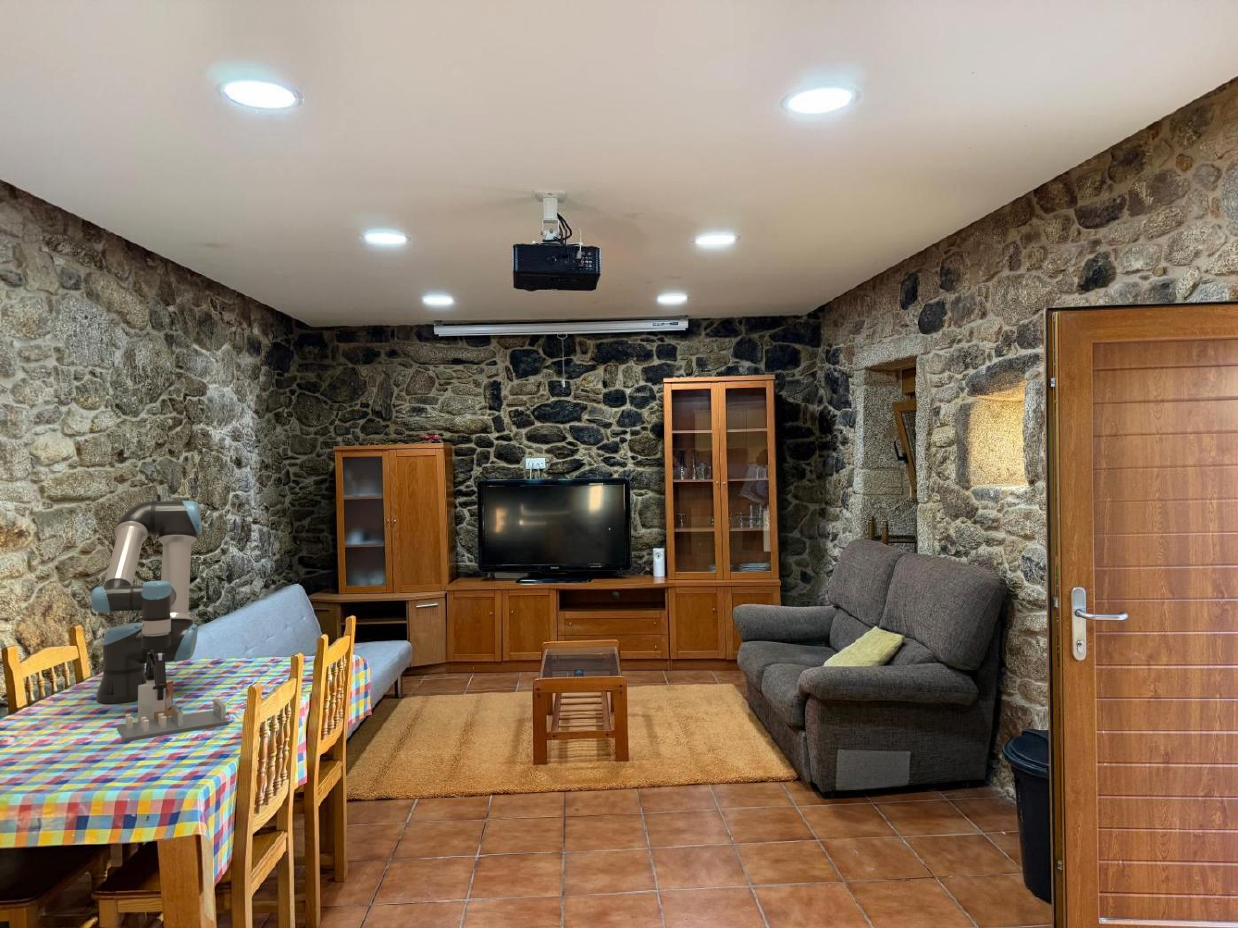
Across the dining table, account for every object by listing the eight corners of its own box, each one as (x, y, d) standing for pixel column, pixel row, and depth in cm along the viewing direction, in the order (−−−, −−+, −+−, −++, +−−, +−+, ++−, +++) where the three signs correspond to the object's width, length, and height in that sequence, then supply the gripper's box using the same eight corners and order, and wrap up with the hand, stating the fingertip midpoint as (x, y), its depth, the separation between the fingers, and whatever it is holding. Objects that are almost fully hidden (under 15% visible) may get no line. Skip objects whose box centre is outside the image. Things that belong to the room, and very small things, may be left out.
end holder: (171, 719, 248) (171, 705, 248) (217, 712, 256) (217, 698, 256) (178, 727, 240) (178, 713, 240) (225, 719, 248) (225, 705, 248)
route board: (116, 728, 243) (117, 714, 243) (216, 713, 258) (216, 699, 258) (124, 741, 231) (124, 726, 231) (228, 724, 246) (228, 710, 247)
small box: (153, 722, 248) (154, 686, 249) (137, 721, 250) (137, 685, 250) (173, 715, 256) (173, 679, 256) (157, 713, 257) (157, 678, 258)
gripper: (135, 629, 261) (134, 700, 260) (149, 641, 241) (148, 717, 240) (162, 627, 265) (161, 696, 265) (178, 638, 246) (177, 712, 245)
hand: (155, 706), depth 253 cm, fingers open, 13 cm apart
